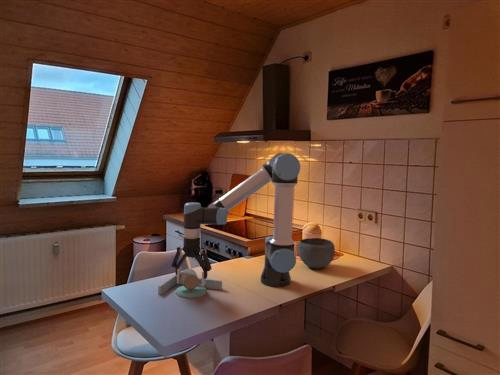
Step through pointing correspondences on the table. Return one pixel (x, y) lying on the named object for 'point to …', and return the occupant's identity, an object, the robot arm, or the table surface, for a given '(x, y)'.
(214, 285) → the divider wall
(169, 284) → the end wall
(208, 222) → the robot arm
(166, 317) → the table surface
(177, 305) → the table surface
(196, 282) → the ceramic mug
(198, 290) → the mat
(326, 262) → the bowl
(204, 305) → the table surface
